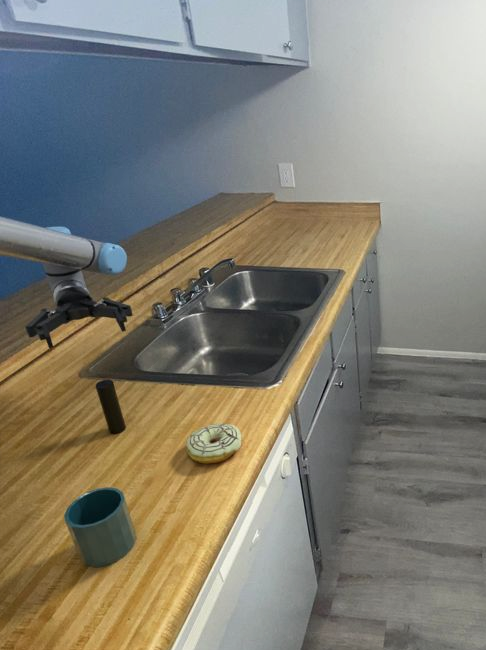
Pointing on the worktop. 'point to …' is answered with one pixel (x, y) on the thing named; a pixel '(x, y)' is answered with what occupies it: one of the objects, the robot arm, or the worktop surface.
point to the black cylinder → (110, 406)
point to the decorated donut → (213, 443)
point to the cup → (100, 526)
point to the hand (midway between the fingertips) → (87, 333)
